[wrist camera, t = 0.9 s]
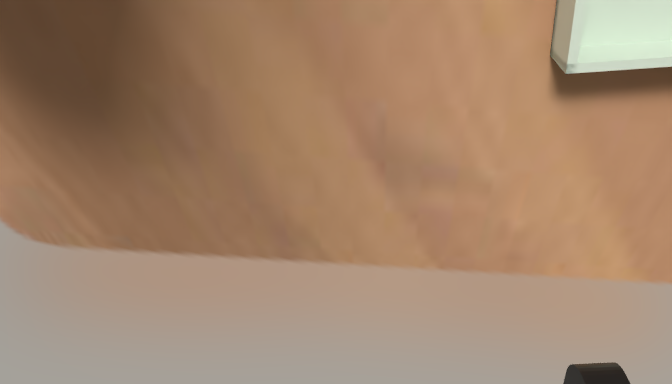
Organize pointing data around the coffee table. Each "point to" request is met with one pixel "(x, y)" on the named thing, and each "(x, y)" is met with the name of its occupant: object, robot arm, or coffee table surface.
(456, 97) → the coffee table surface
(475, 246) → the coffee table surface
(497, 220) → the coffee table surface
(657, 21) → the tray
